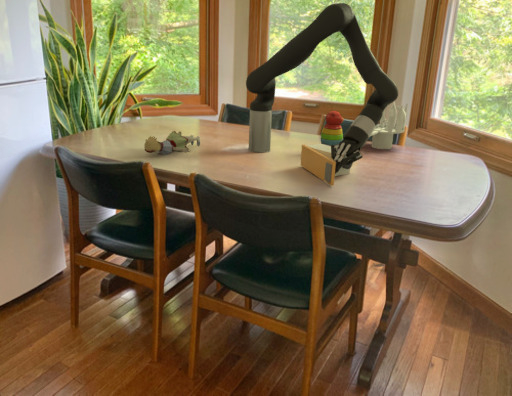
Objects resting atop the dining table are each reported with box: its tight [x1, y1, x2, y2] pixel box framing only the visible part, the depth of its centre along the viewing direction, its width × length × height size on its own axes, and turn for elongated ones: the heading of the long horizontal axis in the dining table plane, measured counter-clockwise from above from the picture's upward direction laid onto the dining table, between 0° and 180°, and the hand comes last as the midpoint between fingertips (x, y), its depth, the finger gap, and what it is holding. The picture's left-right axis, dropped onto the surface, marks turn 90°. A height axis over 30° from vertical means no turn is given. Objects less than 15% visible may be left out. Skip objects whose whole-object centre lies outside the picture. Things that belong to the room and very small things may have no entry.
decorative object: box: [365, 101, 408, 150], centre depth 206 cm, size 18×29×20 cm, turn 143°
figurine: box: [143, 130, 201, 155], centre depth 192 cm, size 25×8×30 cm
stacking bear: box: [320, 110, 345, 146], centre depth 197 cm, size 11×10×18 cm
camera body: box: [305, 142, 354, 177], centre depth 171 cm, size 17×8×9 cm, turn 38°
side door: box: [300, 144, 336, 186], centre depth 163 cm, size 26×2×8 cm, turn 18°
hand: (332, 171), depth 155 cm, fingers closed
